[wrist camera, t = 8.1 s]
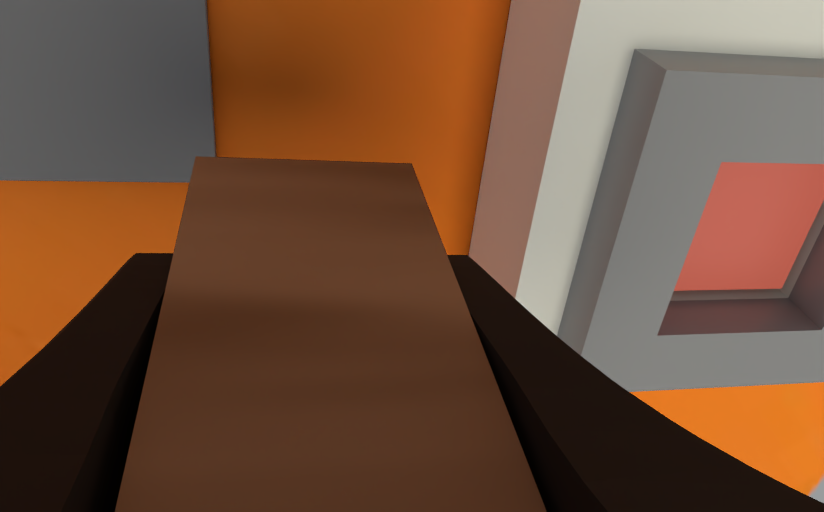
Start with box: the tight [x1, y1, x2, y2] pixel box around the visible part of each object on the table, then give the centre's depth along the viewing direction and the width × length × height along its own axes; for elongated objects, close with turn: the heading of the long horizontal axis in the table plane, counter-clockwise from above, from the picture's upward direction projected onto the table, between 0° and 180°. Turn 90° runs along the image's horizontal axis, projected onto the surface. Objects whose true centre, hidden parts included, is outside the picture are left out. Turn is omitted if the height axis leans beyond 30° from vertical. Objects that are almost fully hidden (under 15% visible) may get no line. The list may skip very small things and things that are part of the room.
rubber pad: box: [0, 0, 216, 182], centre depth 17 cm, size 8×8×1 cm
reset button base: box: [469, 0, 824, 392], centre depth 20 cm, size 12×12×6 cm
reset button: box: [674, 162, 824, 291], centre depth 20 cm, size 4×4×4 cm
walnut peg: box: [115, 156, 547, 512], centre depth 9 cm, size 4×4×8 cm
